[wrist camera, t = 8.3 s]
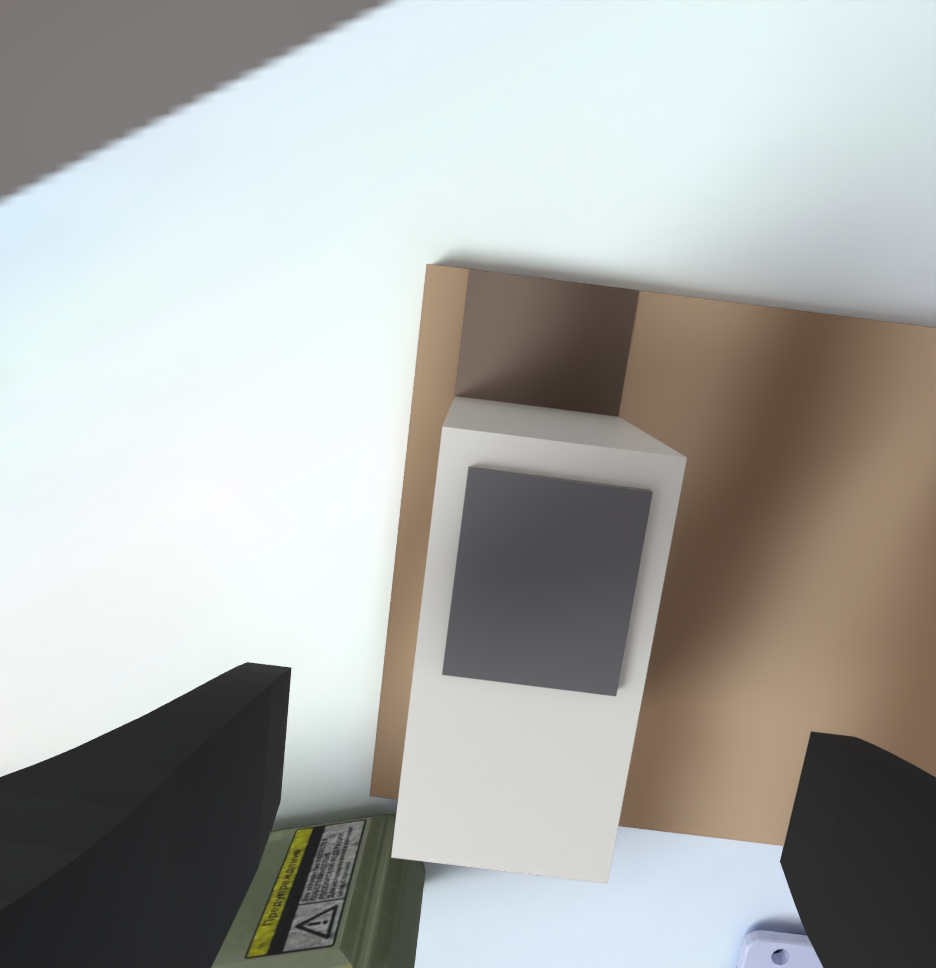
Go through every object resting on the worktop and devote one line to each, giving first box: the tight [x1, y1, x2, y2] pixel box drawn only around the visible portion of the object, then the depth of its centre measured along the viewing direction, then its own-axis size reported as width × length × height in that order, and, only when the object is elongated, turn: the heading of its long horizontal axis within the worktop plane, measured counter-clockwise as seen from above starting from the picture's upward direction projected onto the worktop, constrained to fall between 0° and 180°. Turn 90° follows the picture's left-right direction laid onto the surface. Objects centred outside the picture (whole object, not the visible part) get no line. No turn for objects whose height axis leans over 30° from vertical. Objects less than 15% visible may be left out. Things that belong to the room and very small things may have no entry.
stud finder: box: [391, 396, 687, 884], centre depth 16 cm, size 4×8×6 cm, turn 173°
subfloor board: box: [370, 264, 936, 846], centre depth 19 cm, size 16×14×1 cm
